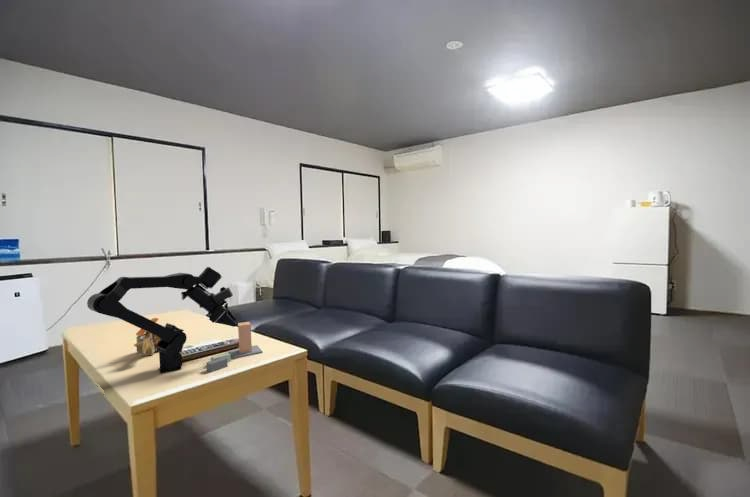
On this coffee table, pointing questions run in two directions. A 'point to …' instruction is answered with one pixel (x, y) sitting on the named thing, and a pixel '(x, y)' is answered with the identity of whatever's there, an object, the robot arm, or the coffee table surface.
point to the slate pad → (237, 354)
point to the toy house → (147, 342)
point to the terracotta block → (244, 337)
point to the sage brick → (224, 355)
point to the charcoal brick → (216, 364)
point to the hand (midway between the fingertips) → (235, 322)
